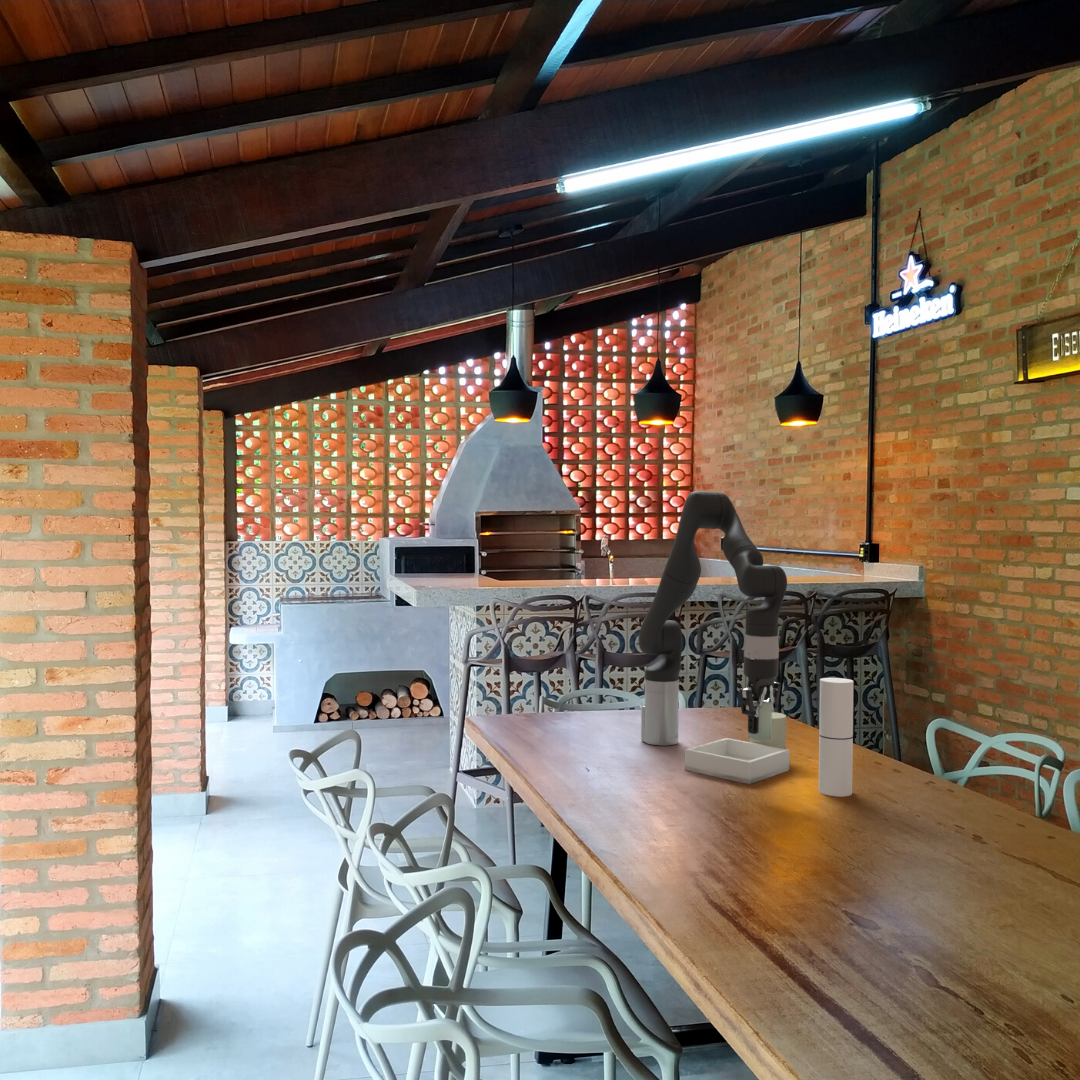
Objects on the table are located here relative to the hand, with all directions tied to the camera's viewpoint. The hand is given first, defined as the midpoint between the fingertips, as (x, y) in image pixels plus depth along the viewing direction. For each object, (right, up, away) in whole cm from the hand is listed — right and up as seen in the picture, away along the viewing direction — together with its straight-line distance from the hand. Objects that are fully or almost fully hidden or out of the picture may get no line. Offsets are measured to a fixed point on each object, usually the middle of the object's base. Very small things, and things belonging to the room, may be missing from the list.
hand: (759, 731), depth 215 cm
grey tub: (-1, -13, +19) cm, 23 cm away
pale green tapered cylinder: (0, -1, 0) cm, 1 cm away
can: (+9, -13, +29) cm, 33 cm away
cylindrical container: (+17, -14, 0) cm, 22 cm away
